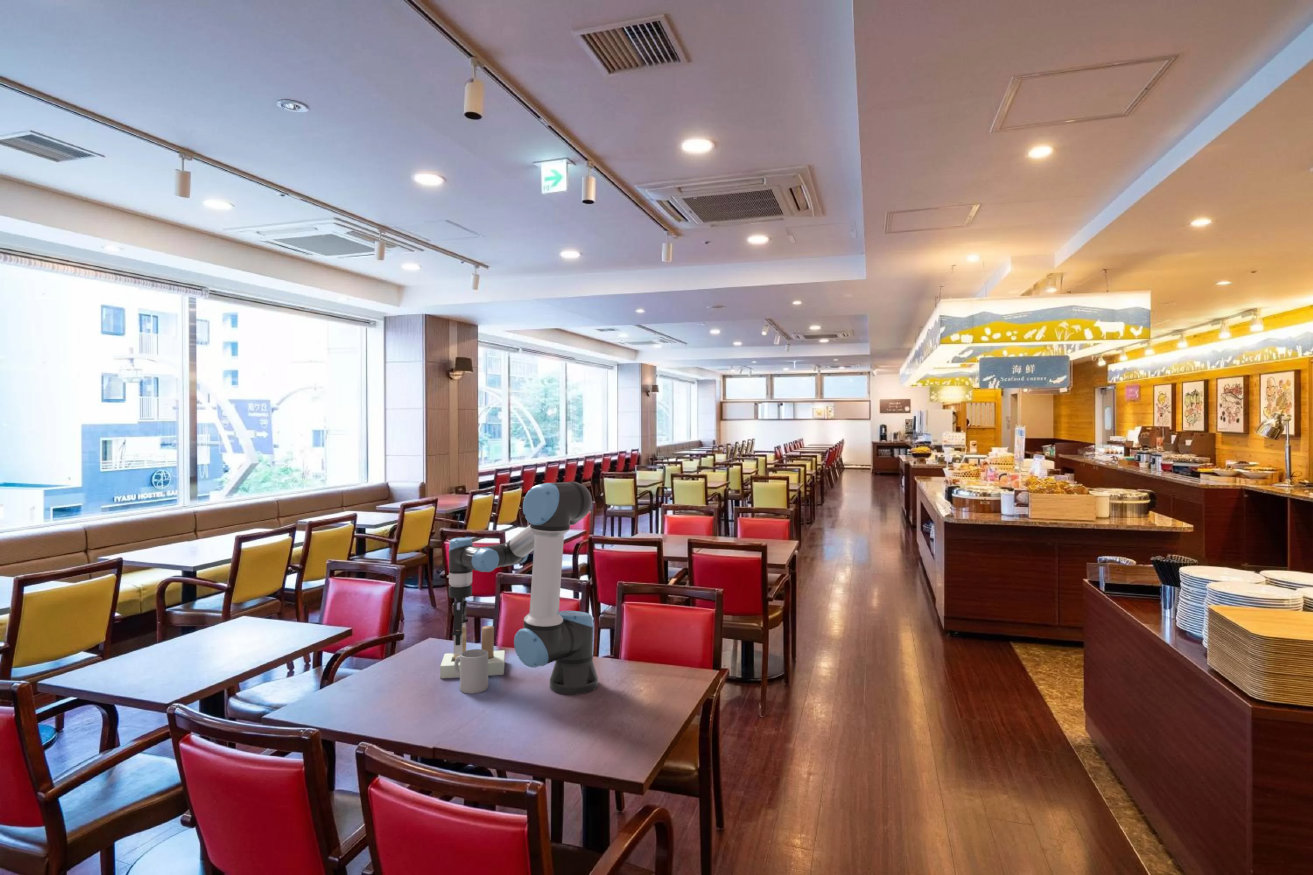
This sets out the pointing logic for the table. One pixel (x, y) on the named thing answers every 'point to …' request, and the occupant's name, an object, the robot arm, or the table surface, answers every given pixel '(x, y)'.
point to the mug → (472, 670)
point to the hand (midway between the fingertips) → (459, 648)
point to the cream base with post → (487, 643)
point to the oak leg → (462, 641)
